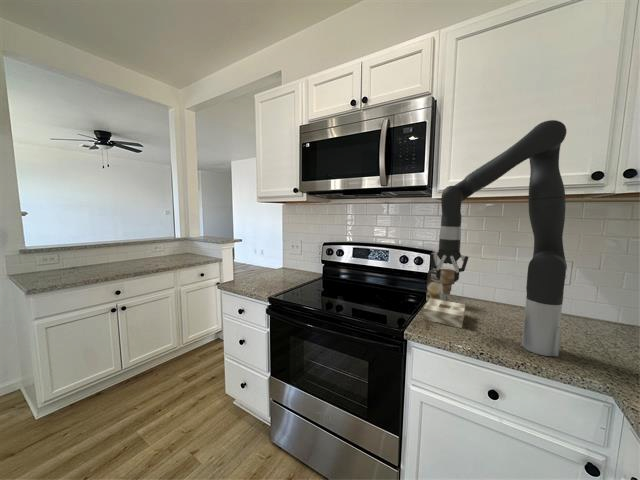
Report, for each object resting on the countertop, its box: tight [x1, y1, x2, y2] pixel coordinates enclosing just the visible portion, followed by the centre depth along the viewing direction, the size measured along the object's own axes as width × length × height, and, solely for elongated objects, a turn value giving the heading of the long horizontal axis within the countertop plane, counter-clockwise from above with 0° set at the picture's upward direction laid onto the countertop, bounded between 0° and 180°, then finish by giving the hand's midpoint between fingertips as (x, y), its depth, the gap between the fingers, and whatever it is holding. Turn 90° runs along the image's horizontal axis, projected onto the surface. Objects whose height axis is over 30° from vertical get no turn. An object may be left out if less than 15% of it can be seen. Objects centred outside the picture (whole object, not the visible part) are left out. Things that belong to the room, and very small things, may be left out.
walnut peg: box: [440, 268, 456, 295], centre depth 104 cm, size 5×5×10 cm
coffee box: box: [425, 269, 450, 302], centre depth 135 cm, size 9×6×16 cm
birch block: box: [422, 298, 466, 329], centre depth 116 cm, size 15×16×5 cm
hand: (447, 280), depth 104 cm, fingers closed on walnut peg, 5 cm apart
